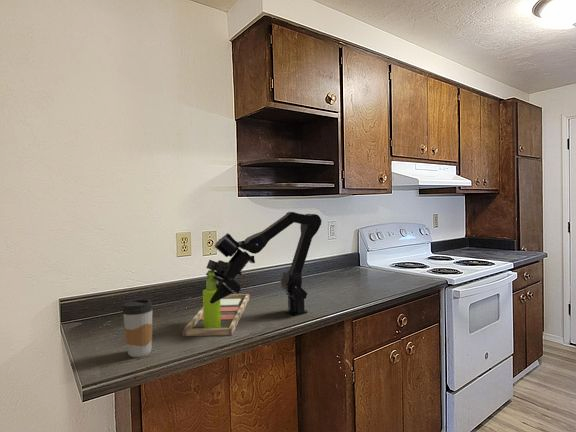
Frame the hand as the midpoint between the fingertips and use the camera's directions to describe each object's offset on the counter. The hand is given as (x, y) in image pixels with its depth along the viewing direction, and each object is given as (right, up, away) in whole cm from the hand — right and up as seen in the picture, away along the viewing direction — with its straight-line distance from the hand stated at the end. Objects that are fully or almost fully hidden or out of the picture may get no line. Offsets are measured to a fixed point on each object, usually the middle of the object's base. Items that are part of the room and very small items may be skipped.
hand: (207, 300), depth 124 cm
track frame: (+2, -9, +16) cm, 19 cm away
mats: (+2, -9, +16) cm, 19 cm away
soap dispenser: (+2, -10, +1) cm, 10 cm away
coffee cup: (-16, -11, -18) cm, 27 cm away
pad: (+2, -8, +32) cm, 33 cm away
